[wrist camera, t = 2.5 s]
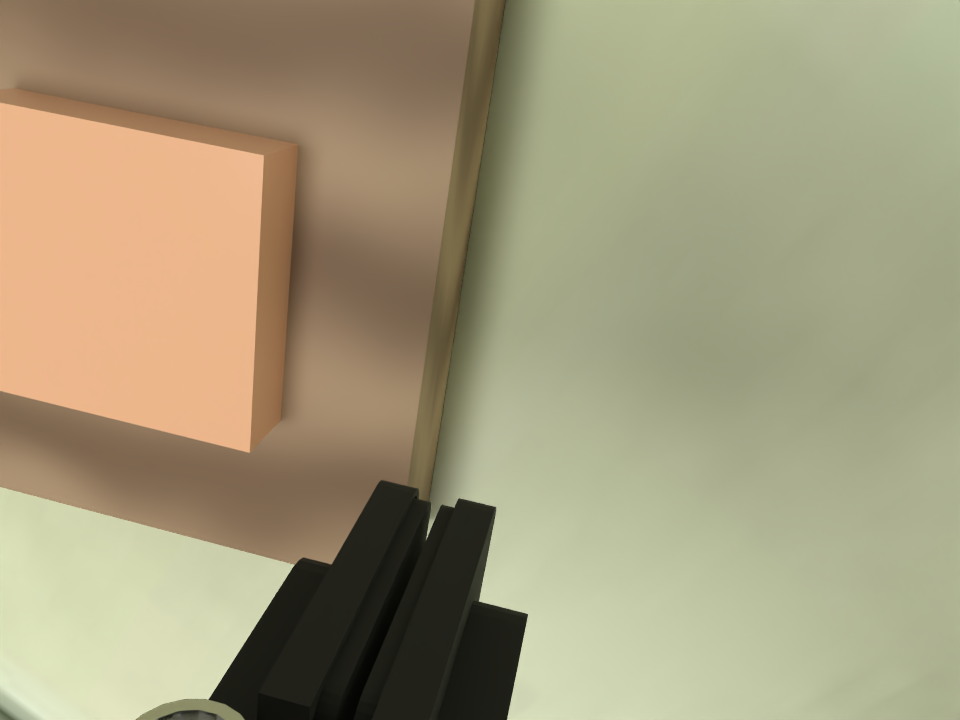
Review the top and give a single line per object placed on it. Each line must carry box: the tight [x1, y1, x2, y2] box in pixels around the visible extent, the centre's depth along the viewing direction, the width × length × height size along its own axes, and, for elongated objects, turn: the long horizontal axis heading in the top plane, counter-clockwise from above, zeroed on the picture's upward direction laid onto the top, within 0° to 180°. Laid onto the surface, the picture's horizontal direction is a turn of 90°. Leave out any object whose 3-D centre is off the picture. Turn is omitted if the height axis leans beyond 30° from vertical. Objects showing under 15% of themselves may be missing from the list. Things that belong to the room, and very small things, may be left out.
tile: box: [0, 88, 298, 453], centre depth 22 cm, size 8×8×2 cm
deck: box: [0, 0, 506, 564], centre depth 25 cm, size 18×16×4 cm
